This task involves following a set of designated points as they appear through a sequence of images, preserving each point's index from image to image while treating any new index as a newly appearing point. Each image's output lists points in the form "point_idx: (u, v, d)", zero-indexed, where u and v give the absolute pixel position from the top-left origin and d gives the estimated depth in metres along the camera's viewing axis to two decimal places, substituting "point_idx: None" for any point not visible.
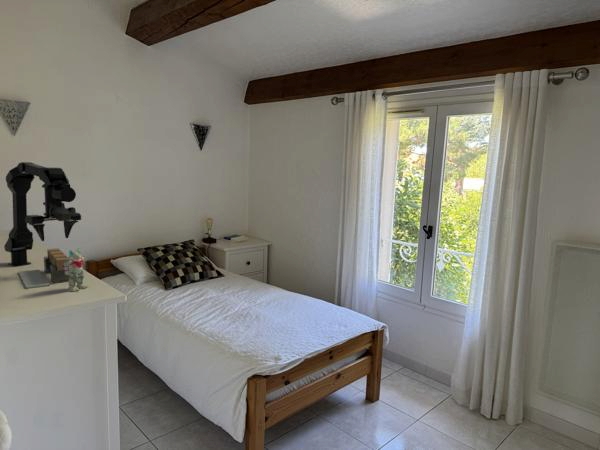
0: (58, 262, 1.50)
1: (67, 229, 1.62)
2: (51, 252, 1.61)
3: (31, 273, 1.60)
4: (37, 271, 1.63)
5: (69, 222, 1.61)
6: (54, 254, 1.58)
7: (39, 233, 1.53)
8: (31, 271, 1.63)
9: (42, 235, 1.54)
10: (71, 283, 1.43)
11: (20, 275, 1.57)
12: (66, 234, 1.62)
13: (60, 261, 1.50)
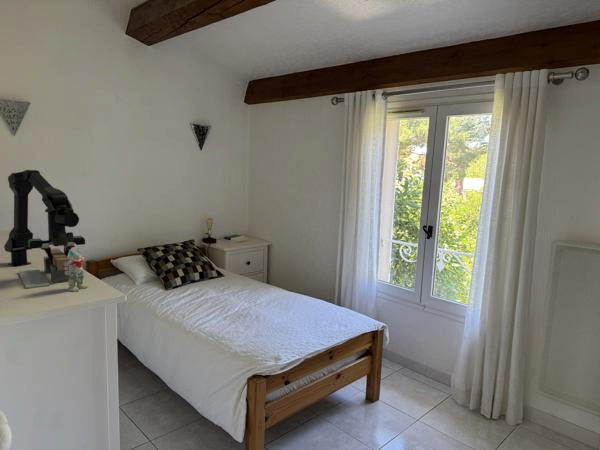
0: (58, 262, 1.50)
1: None
2: (51, 252, 1.61)
3: (31, 273, 1.60)
4: (37, 271, 1.63)
5: (66, 247, 1.59)
6: (54, 254, 1.58)
7: (48, 256, 1.57)
8: (31, 271, 1.63)
9: (50, 258, 1.57)
10: (71, 283, 1.43)
11: (20, 275, 1.57)
12: None
13: (60, 261, 1.50)
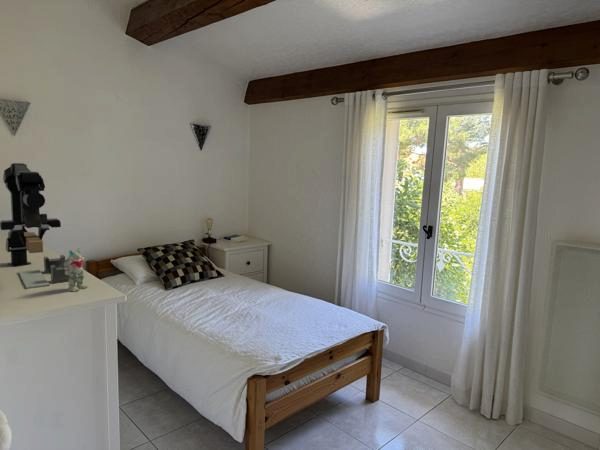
0: (30, 244, 1.44)
1: (39, 237, 1.54)
2: (25, 235, 1.55)
3: (31, 273, 1.60)
4: (37, 271, 1.63)
5: (40, 229, 1.53)
6: (28, 237, 1.52)
7: (21, 239, 1.51)
8: (31, 271, 1.63)
9: (23, 241, 1.50)
10: (71, 283, 1.43)
11: (20, 275, 1.57)
12: None
13: (33, 243, 1.44)
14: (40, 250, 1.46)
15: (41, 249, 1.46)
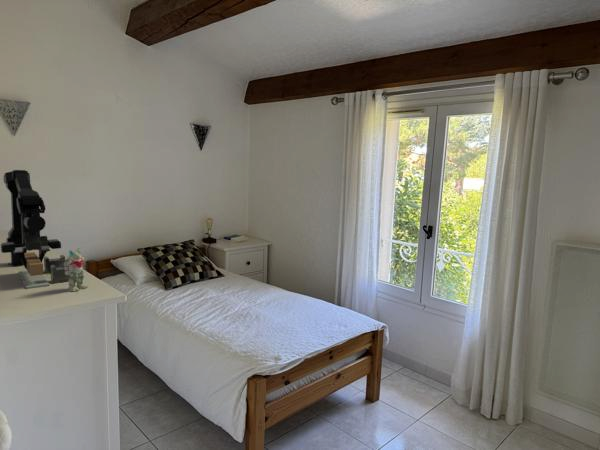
0: (31, 267, 1.45)
1: (39, 258, 1.55)
2: (26, 256, 1.56)
3: None
4: None
5: (40, 251, 1.54)
6: (28, 258, 1.53)
7: (21, 260, 1.52)
8: None
9: (24, 263, 1.52)
10: (71, 283, 1.43)
11: (20, 275, 1.57)
12: None
13: (33, 266, 1.45)
14: (40, 272, 1.47)
15: (41, 271, 1.47)
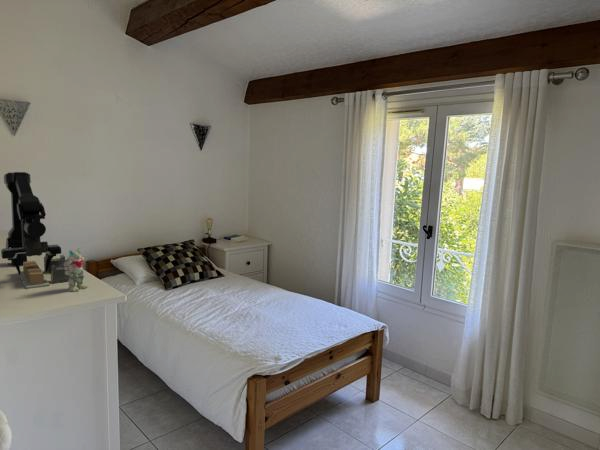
0: (31, 277, 1.45)
1: (46, 263, 1.57)
2: (26, 265, 1.56)
3: None
4: None
5: (47, 256, 1.56)
6: (29, 268, 1.53)
7: None
8: None
9: (17, 269, 1.51)
10: (71, 283, 1.43)
11: (20, 275, 1.57)
12: (45, 268, 1.57)
13: (33, 276, 1.46)
14: (41, 282, 1.47)
15: (42, 281, 1.47)
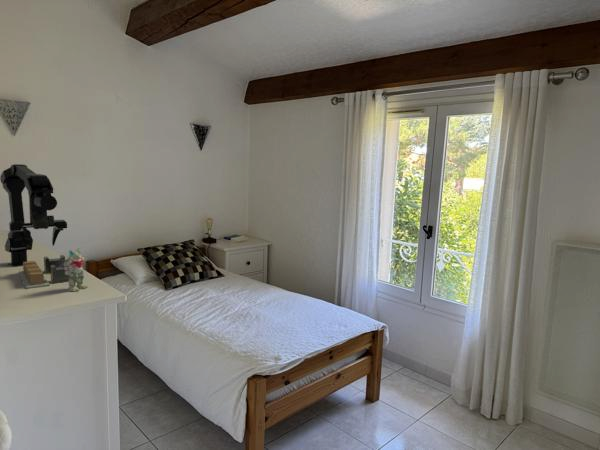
0: (31, 277, 1.45)
1: (53, 237, 1.61)
2: (26, 265, 1.56)
3: None
4: None
5: (54, 230, 1.60)
6: (29, 268, 1.53)
7: (21, 239, 1.55)
8: None
9: (23, 241, 1.55)
10: (71, 283, 1.43)
11: (20, 275, 1.57)
12: (52, 242, 1.62)
13: (33, 276, 1.46)
14: (41, 282, 1.47)
15: (42, 281, 1.47)
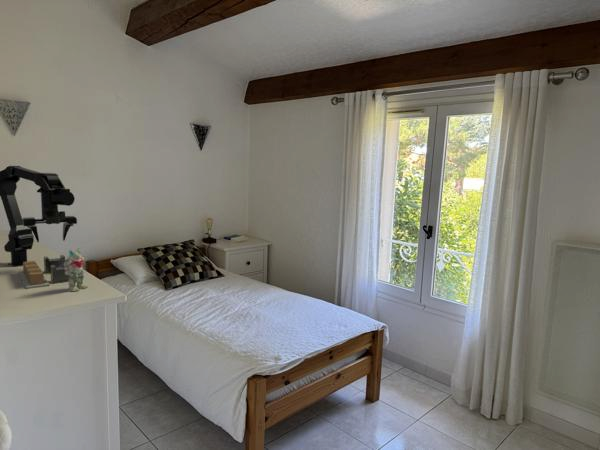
0: (31, 277, 1.45)
1: (63, 232, 1.70)
2: (26, 265, 1.56)
3: None
4: None
5: (65, 225, 1.69)
6: (29, 268, 1.53)
7: (34, 234, 1.64)
8: None
9: (36, 237, 1.63)
10: (71, 283, 1.43)
11: (20, 275, 1.57)
12: (63, 237, 1.70)
13: (33, 276, 1.46)
14: (41, 282, 1.47)
15: (42, 281, 1.47)
